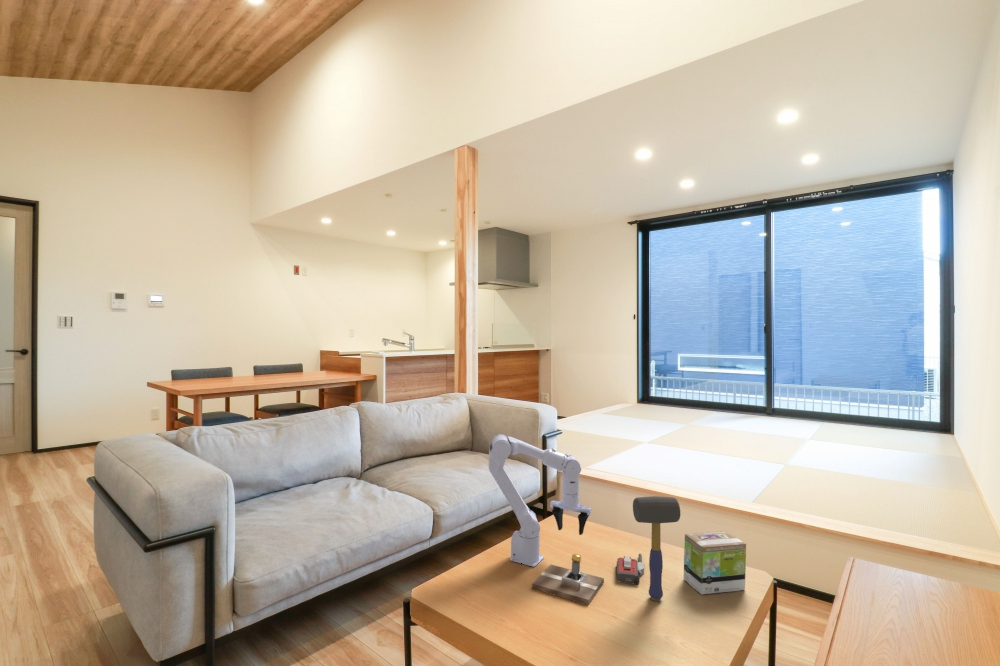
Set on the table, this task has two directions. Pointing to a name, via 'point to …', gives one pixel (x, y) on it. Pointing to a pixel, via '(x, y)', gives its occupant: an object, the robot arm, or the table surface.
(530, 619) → the table surface
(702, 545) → the tea box
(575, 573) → the gold-capped cylinder
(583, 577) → the pilot socket
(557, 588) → the board
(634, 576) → the walkie-talkie
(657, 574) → the rubber mallet
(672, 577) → the table surface
